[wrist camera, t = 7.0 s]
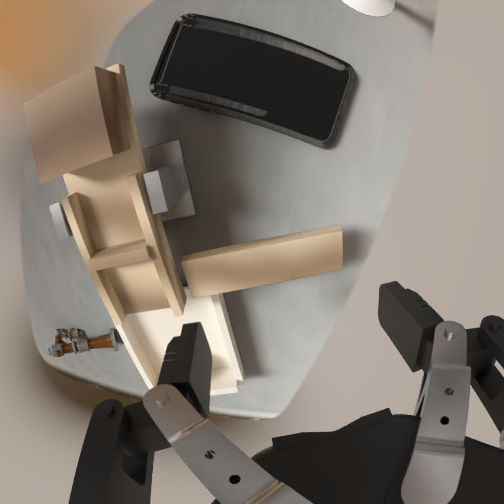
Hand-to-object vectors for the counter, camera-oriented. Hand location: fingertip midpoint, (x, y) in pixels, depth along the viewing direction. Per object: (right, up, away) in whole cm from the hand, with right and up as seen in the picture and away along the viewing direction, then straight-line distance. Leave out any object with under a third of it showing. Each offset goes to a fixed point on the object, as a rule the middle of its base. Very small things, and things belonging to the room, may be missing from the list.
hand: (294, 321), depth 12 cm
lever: (-5, +8, +5) cm, 11 cm away
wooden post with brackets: (-19, -6, +15) cm, 25 cm away
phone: (-2, +17, +7) cm, 18 cm away
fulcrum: (-11, +8, +10) cm, 17 cm away
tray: (-9, -5, +15) cm, 18 cm away
